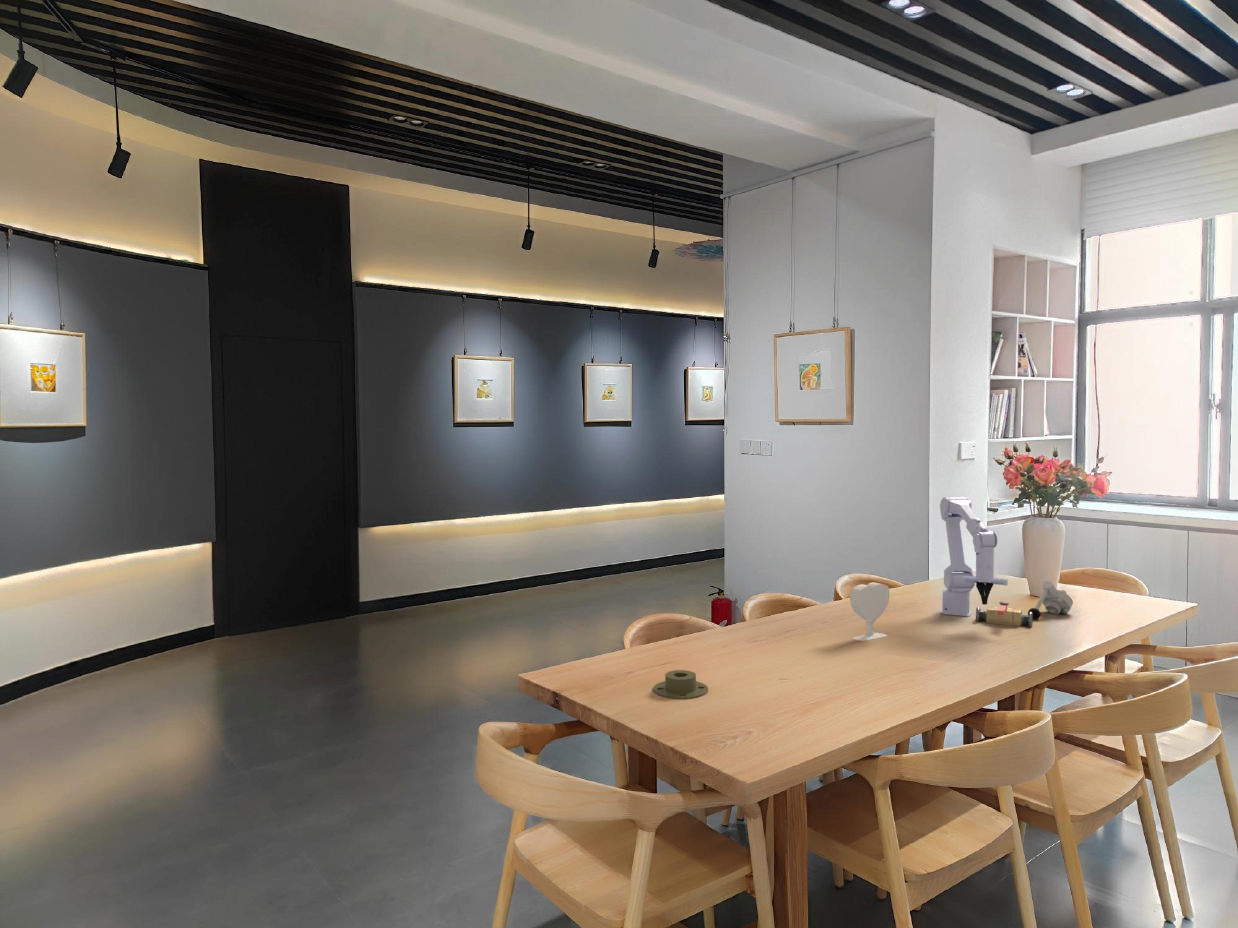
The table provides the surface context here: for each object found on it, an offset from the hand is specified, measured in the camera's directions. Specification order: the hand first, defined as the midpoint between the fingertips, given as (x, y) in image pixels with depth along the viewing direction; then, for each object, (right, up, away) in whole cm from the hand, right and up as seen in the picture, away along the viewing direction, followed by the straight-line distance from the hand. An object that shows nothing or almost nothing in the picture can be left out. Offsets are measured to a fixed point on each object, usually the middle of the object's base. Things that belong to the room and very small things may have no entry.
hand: (984, 603), depth 284 cm
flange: (-112, -14, -62) cm, 128 cm away
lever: (+7, -3, +1) cm, 7 cm away
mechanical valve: (+30, -7, +15) cm, 35 cm away
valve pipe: (+9, -9, +5) cm, 14 cm away
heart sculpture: (-44, -10, -10) cm, 46 cm away
